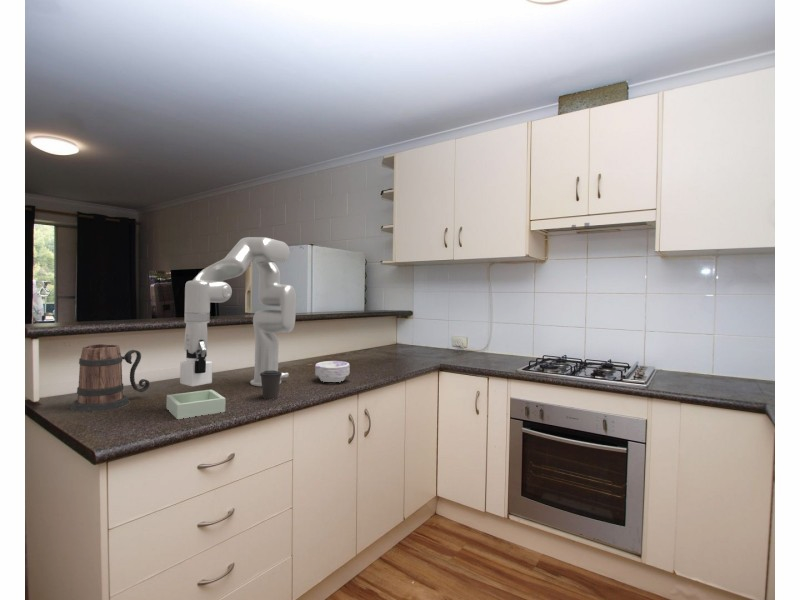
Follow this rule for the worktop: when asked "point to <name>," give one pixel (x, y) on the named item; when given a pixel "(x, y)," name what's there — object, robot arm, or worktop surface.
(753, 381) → the worktop surface
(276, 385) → the coffee cup
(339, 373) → the white ceramic bowl
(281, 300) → the robot arm
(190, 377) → the medicine bottle
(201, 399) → the box
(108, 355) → the tankard
